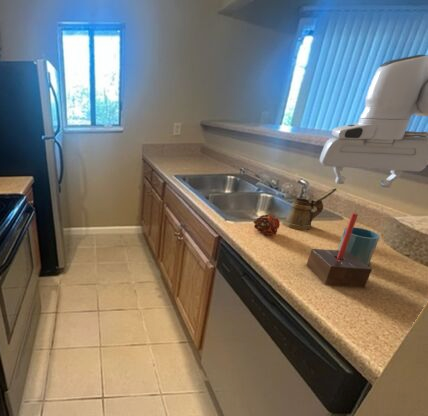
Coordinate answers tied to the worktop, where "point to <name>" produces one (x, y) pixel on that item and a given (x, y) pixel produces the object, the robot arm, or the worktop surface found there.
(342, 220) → the worktop surface
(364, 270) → the block
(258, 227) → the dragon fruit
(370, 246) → the cup
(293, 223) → the wooden mug
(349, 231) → the straw
